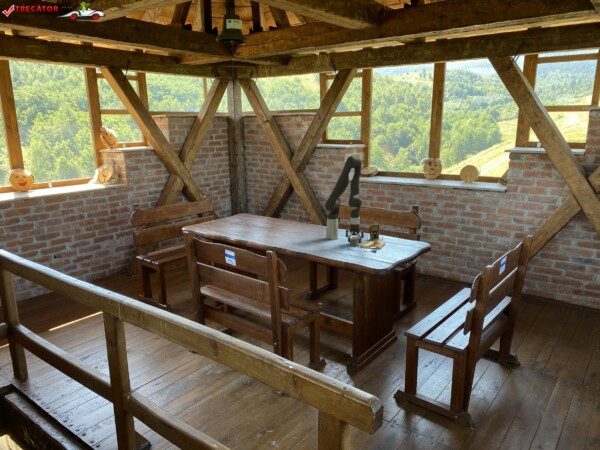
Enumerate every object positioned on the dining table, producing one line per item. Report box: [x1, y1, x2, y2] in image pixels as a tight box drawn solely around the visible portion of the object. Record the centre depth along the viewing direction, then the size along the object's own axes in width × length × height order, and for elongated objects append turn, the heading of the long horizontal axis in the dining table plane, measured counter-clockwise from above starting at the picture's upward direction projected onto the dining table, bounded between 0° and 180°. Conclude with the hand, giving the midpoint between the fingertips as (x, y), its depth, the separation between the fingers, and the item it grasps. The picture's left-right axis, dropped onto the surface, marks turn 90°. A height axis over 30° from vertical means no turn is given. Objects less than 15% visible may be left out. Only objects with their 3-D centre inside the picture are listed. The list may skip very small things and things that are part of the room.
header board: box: [360, 239, 386, 250], centre depth 350 cm, size 16×15×5 cm
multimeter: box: [366, 215, 384, 242], centre depth 366 cm, size 15×10×20 cm
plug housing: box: [349, 236, 360, 247], centre depth 355 cm, size 5×11×5 cm, turn 157°
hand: (354, 242), depth 356 cm, fingers open, 8 cm apart
